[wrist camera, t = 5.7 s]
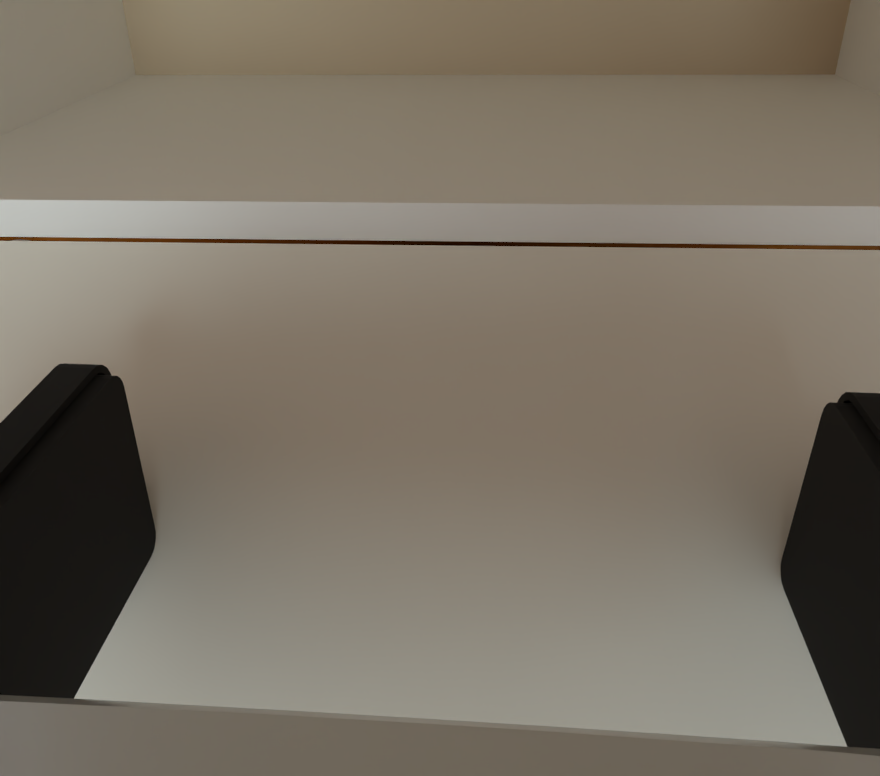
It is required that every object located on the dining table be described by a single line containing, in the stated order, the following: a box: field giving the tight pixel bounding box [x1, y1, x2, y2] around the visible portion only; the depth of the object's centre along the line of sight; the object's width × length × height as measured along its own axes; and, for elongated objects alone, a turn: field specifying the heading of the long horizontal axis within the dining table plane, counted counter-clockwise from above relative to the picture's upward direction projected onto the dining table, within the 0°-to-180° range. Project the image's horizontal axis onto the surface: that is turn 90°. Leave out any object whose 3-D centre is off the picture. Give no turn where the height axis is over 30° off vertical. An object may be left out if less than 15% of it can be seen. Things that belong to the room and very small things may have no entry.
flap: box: [0, 241, 880, 747], centre depth 12 cm, size 20×9×1 cm
